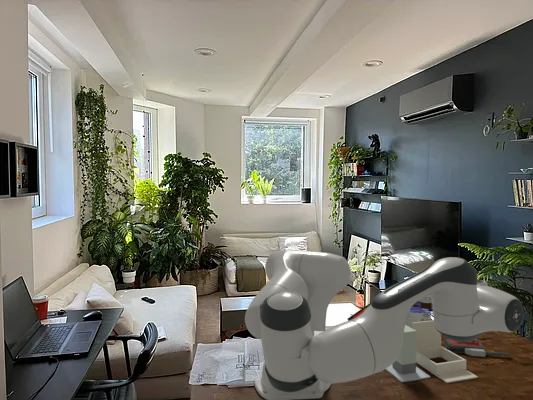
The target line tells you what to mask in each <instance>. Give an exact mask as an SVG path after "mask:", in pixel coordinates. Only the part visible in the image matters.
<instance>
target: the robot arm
mask: <svg viewBox="0 0 533 400" xmlns="http://www.w3.org/2000/svg"><path fill="white" fill-rule="evenodd" d="M264 267H265V268H264V271H265V275H266V277H267V279H268V280H269V281H267V283H266V284H265V285H264V286H263V287H262V288H261V289H259V291H258V292H257V293H256V295H255V297H254V298H252V301H251V302H250V304H249V305H248V307H247V308H246V311H245V315H244V323H245V327H246V329H247V330H248V332H249V333H250V334H251V335H252V336H253V337H254V338H255V339H257V340H261V346H262V353H263V359H264V362H263V365H262V371H261V373H262V377H261V379H260V380H256V379H255V378H254V381H255V383H254V387H255V390H256V391H257V393H258V394H259V395H260V396H261V398H262V399H263V398H264V399H265V400H309V399H310V400H311V399H321V398H323V397H324V393H325V392H326V391H327V390H328V389H329V388H330V387H331V385H332V384H339V383H347V382H351V381H355V380H359V379H363V378H365V377H369V376H372V375H374V374H376V373H380V372H382V371H384V370H386V368H388V367H389V366H391V365H392V364H393V363H394V362H395V361H396V360H397V358H398V356H399V354H400V351H401V348H402V344H403V335H404V329H405V324H406V320H407V316H408V313H409V311H410V309H411V307H412V306H413V307H414V304H415V303H422V304H423V303H424V304H432V314H433V320H434V323H435V328H436V330H437V331H438V332H439V333H440V334H441V336H444V337H445V338H446V339H451V340H454V341H457V342H470V341H473V340H475V339H476V340H477V339H478V338H480V337H482V336H484V334H486V333H487V332H504V333H515V332H517V331H518V330H519V329H520V327H522V324H523V321H524V306H523V304H522V301H520V299H518V298H517V297H516V296H514V295H513V294H510V293H508V292H506V291H504V290H501V289H498V288H496V287H492V286H489V285H488V284H489V283H488V281H486V280H482V279H481V280H480V279H478V270H477V269H476V268H475V267H474V266H473V264H471V263H470V262H469V261H467V260H466V259H465V258H462V257H458V256H457V257H453V256H452V257H451V256H449V257H443V258H440V259H437V260H435V261H433V262H432V263H431V264H430V265H428V266H427V267H425V268H424V269H422V270H420V271H419V272H417V273H415V274H412V275H411V276H408V277H407V278H405V279H403V280H401V281H399V282H397V283H395V284H393V285H391V286H389V287H388V288H386V289H384V290H383V291H382V290H381V292H379V293H377V294H376V295H374V297H373V298H372V300H371V303H370V304H371V305H370V306H369V307H368V308H367V309H366V310H365V311H364V312H363V313H362V314H361V315H359V316H358V317H356V318H355V319H352V320H350V321H348V320H347V321H344V322H341V323H338V324H336V325H333V326H331V327H329V328H328V329H326V325H327V323H326V322H327V321H326V320H327V311H328V307H329V305H330V302H331V301H332V299H333V298H334V297H335V296H336V295H338V294H339V293H340V292H341V291H343V290H344V289H345V288H346V287H347V285H349V282H350V280H351V270H352V269H351V267H350V264H349V262H348V260H347V259H346V258H345V257H344V256H341V255H338V254H335V253H331V252H326V251H325V252H323V251H312V250H311V251H309V250H297V249H281V250H274V251H272V252H271V253H270V254H269V255H268V257H267V258H266V262H265V266H264ZM415 305H416V304H415Z"/></svg>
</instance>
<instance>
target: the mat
mask: <svg viewBox="0 0 533 400" xmlns="http://www.w3.org/2000/svg"><path fill="white" fill-rule="evenodd" d="M385 371H387V372H388V373H389V374H391V375H392V376H393V377H395V379H396V380H398V381H400V383H406V382H412V381H417V380H419V381H420V380H425V379H426V380H427V379H430V378H431V376H430V375H429V374H427V373H426V372H425V371H424V370H422V369H421V368H419V367H417V366H416V372H415V373H409V374H401V373H399V372H398V371H397V370H395V369H394V368H393V367H392V365H391V366H389V367H388V368H386V369H385Z"/></svg>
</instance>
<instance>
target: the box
mask: <svg viewBox="0 0 533 400" xmlns="http://www.w3.org/2000/svg"><path fill="white" fill-rule="evenodd" d="M392 367H393V368H394V369H395V370H397V371H398V372H399V373H401V374H409V373H415V372H416V367H417V363H416V330H414V329H412V328H410V327H409V326H407V325H405V329H404V335H403V344H402V348H401V351H400V354H399V356H398V358H397V360H396V361H395V362H394V363H393V364H392Z"/></svg>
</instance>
